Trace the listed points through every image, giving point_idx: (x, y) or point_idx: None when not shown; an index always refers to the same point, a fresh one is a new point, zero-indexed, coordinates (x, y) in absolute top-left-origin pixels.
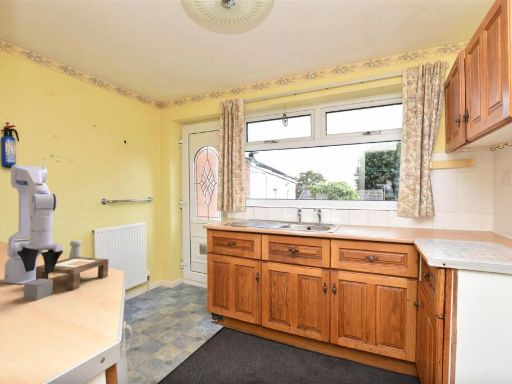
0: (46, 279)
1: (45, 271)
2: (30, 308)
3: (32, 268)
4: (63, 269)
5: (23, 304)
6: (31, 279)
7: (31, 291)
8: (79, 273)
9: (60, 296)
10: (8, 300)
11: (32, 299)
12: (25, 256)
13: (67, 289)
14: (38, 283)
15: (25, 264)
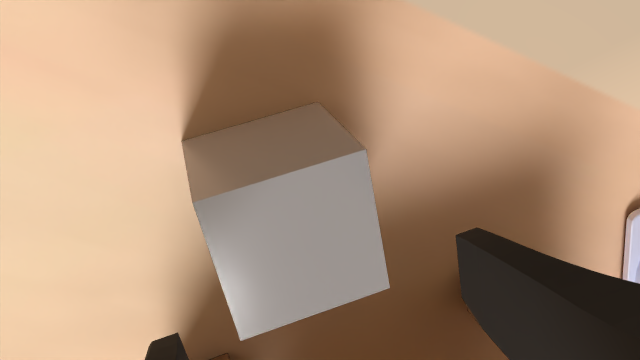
0: (306, 308)
1: (166, 351)
2: (6, 29)
3: (476, 299)
4: None
5: (179, 43)
6: (636, 276)
7: (258, 149)
8: None
9: (110, 277)
10: (391, 23)
11: (228, 128)
12: (621, 351)
13: (225, 355)
14: (237, 224)
15: (525, 270)
